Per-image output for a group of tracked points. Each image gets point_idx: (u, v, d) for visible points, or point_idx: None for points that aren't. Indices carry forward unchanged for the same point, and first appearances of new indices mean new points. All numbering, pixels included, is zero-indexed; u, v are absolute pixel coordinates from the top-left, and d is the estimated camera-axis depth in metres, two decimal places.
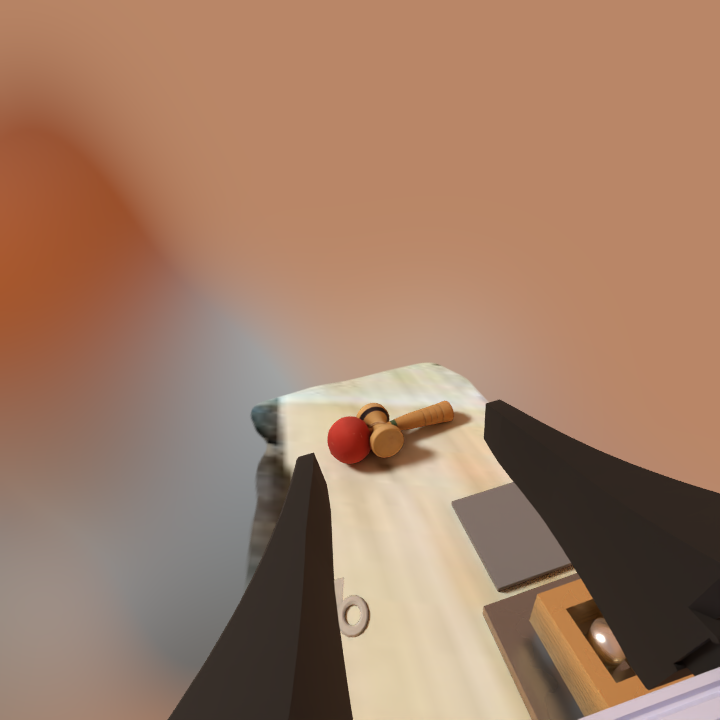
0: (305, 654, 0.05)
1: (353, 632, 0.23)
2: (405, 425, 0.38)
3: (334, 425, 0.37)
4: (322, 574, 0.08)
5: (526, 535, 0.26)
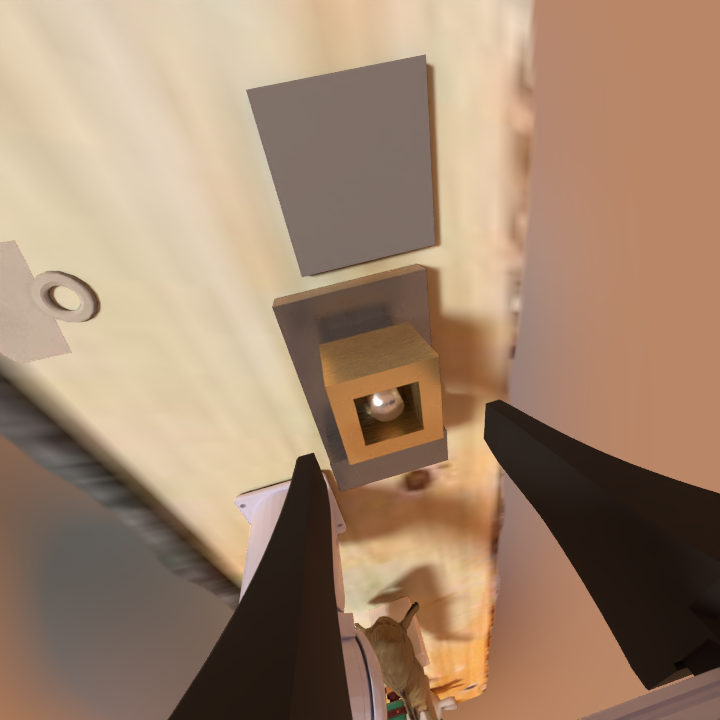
0: (305, 654, 0.05)
1: (76, 320, 0.15)
2: None
3: None
4: (322, 574, 0.08)
5: (375, 200, 0.15)
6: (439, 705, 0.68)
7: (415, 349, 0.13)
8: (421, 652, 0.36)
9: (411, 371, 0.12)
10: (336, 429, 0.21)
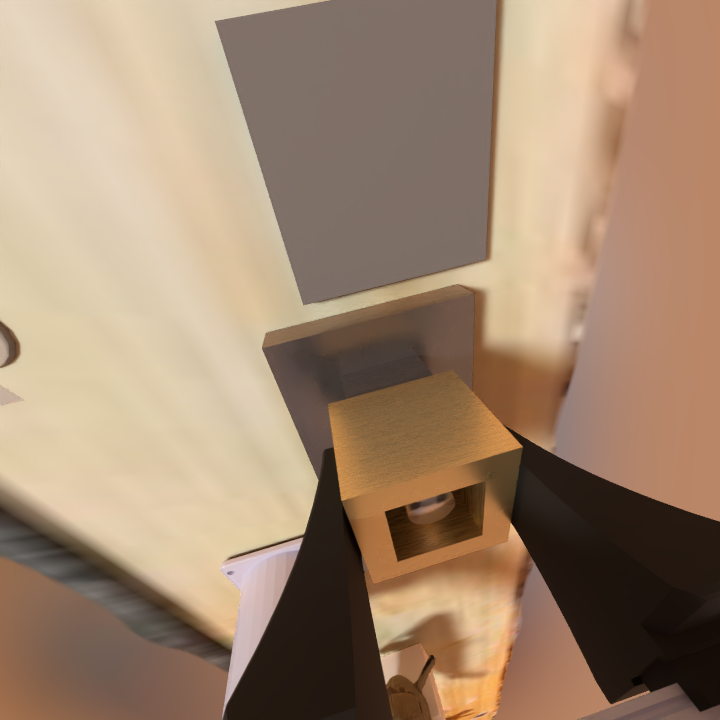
0: (356, 637, 0.05)
1: None
2: None
3: None
4: (356, 563, 0.08)
5: (408, 199, 0.10)
6: None
7: (478, 428, 0.08)
8: (438, 714, 0.32)
9: (477, 469, 0.08)
10: None
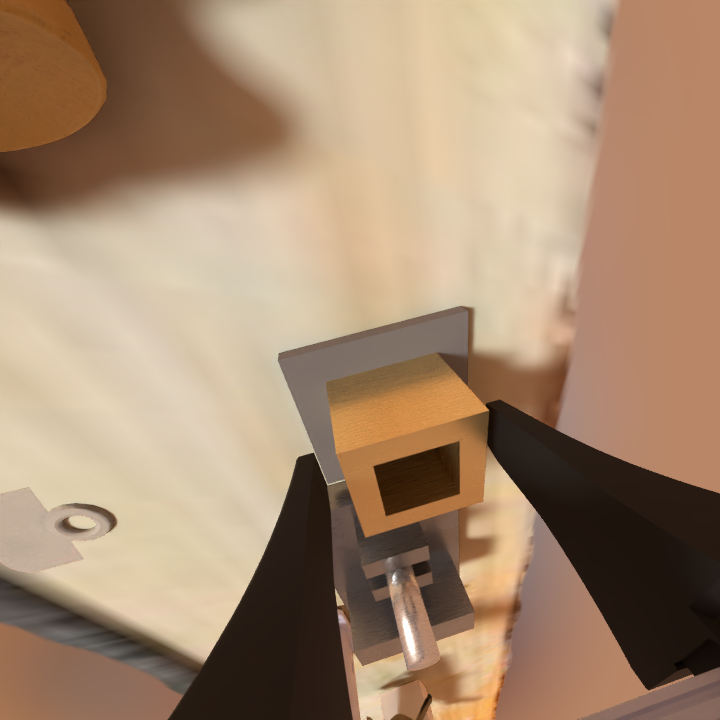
0: (305, 654, 0.05)
1: (91, 538, 0.14)
2: None
3: None
4: (322, 574, 0.08)
5: None
6: None
7: (454, 397, 0.10)
8: None
9: (451, 430, 0.09)
10: (357, 591, 0.20)
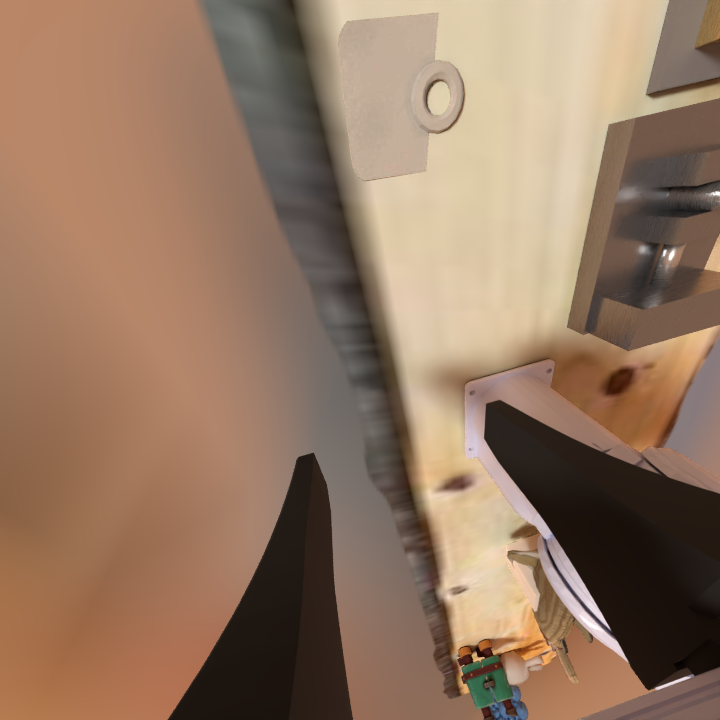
0: (305, 654, 0.05)
1: (438, 127, 0.15)
2: None
3: None
4: (322, 574, 0.08)
5: None
6: (525, 665, 0.67)
7: None
8: None
9: None
10: (608, 293, 0.20)
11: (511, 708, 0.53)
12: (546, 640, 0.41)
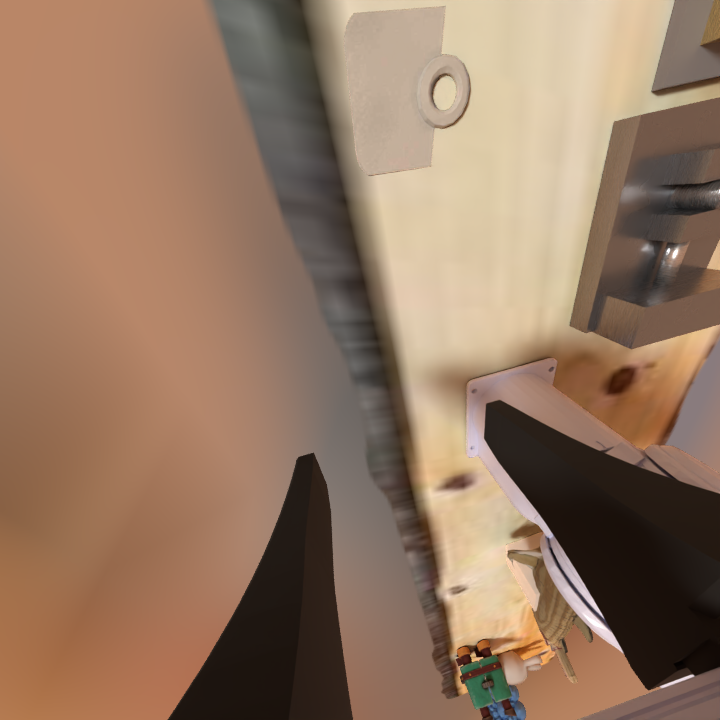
0: (305, 654, 0.05)
1: (443, 122, 0.14)
2: None
3: None
4: (322, 574, 0.08)
5: None
6: (524, 665, 0.67)
7: None
8: None
9: None
10: (611, 291, 0.20)
11: (509, 708, 0.53)
12: (545, 640, 0.41)
